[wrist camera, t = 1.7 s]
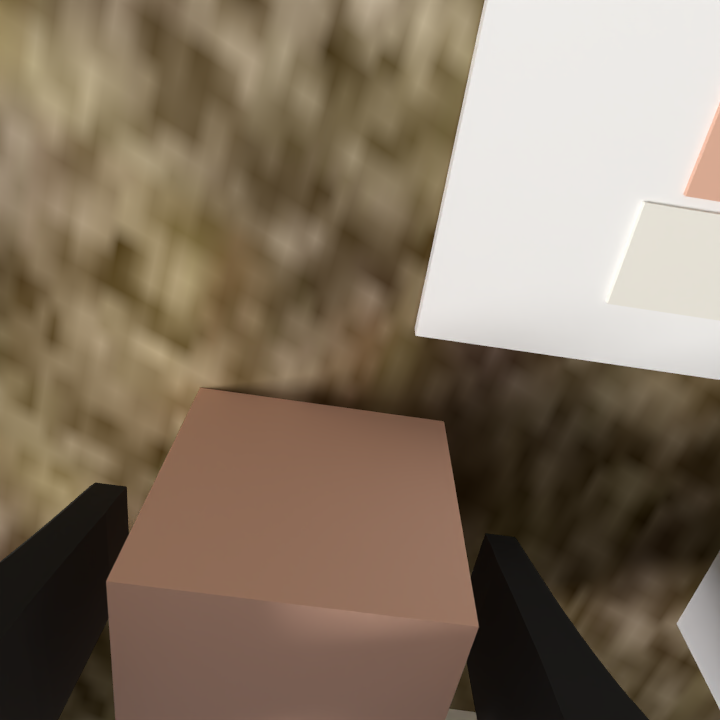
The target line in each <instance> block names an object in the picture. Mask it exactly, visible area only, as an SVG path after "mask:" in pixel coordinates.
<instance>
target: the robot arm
mask: <svg viewBox="0 0 720 720" xmlns="http://www.w3.org/2000/svg"><path fill="white" fill-rule="evenodd" d="M128 535H129V533H128V509H127V487H125V486H117V485H109V484H102V483H94V484H93V485H91V486H90V487H89V488H88V489H86V490H85V491H84V492H83V493H82V494H81V495H79V496H78V497H77V498H76V499H75V500H74V501H73V502H71V503H70V504H69V505H68V506H67V507H66V508H65V509H63V510H62V511H61V512H60V513H59V514H58V515H56V516H55V517H54V518H53V519H52V520H51V521H49V522H48V523H47V524H46V525H45V526H44V527H42V528H41V529H40V530H39V531H38V532H36V533H35V534H34V535H33V536H31V537H30V538H29V539H28V540H27V541H25V542H24V543H23V544H22V545H20V546H19V547H18V548H17V549H15V550H14V551H13V552H12V553H11V554H9V555H8V556H7V557H6V558H4V559H3V560H2V561H1V562H0V720H58V719H59V717H60V715H61V713H62V711H63V709H64V707H65V705H66V703H67V701H68V699H69V697H70V695H71V693H72V691H73V689H74V687H75V685H76V683H77V681H78V679H79V677H80V675H81V673H82V671H83V669H84V667H85V665H86V663H87V661H88V659H89V657H90V655H91V653H92V651H93V649H94V646H95V644H96V642H97V640H98V638H99V636H100V634H101V632H102V630H103V628H104V626H105V624H106V622H107V620H108V618H109V617H108V603H107V588H106V580H107V578H108V576H109V574H110V572H111V570H112V568H113V566H114V564H115V562H116V560H117V558H118V556H119V554H120V552H121V549H122V547H123V545H124V543H125V541H126V539H127V537H128ZM471 583H472V589H473V595H474V601H475V607H476V613H477V619H478V624H479V628H478V631H477V633H476V636H475V639H474V642H473V645H472V647H471V650H470V653H469V656H468V658H467V666H468V671H469V677H470V683H471V689H472V694H473V700H474V705H475V711H476V716H477V720H649V719H648V718H647V717H646V716H645V715H644V714H643V712H642V711H641V710H640V709H639V708H638V707H637V706H636V705H635V703H634V702H633V701H632V700H631V699H630V698H629V697H628V695H627V694H626V693H625V692H624V691H623V689H622V688H621V687H620V686H619V685H618V683H617V682H616V681H615V680H614V678H613V677H612V676H611V675H610V673H609V672H608V671H607V670H606V668H605V667H604V666H603V664H602V663H601V662H600V661H599V659H598V658H597V657H596V655H595V654H594V653H593V651H592V650H591V649H590V647H589V646H588V645H587V643H586V642H585V641H584V639H583V638H582V636H581V635H580V634H579V632H578V631H577V629H576V628H575V626H574V625H573V624H572V622H571V621H570V619H569V618H568V617H567V615H566V614H565V612H564V611H563V609H562V608H561V607H560V605H559V604H558V602H557V601H556V599H555V598H554V596H553V595H552V593H551V592H550V590H549V589H548V587H547V586H546V584H545V582H544V581H543V579H542V578H541V576H540V575H539V573H538V572H537V570H536V569H535V567H534V565H533V564H532V562H531V561H530V559H529V558H528V556H527V554H526V553H525V551H524V550H523V548H522V547H521V545H520V544H519V542H518V541H517V539H516V538H515V537H510V536H502V535H494V534H487V533H485V536H484V539H483V542H482V545H481V548H480V551H479V554H478V557H477V560H476V563H475V566H474V569H473V572H472V575H471Z"/></svg>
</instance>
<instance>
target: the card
mask: <svg viewBox="0 0 720 720" xmlns="http://www.w3.org/2000/svg"><path fill="white" fill-rule="evenodd" d="M415 335H416V336H421V337H428V338H435V339H442V340H449V341H456V342H463V343H470V344H477V345H483V346H490V347H497V348H504V349H511V350H518V351H525V352H532V353H538V354H545V355H552V356H559V357H566V358H573V359H580V360H587V361H594V362H600V363H607V364H614V365H621V366H628V367H635V368H642V369H649V370H656V371H662V372H669V373H676V374H683V375H690V376H697V377H704V378H711V379H717V380H720V0H485V1H484V6H483V11H482V15H481V20H480V25H479V29H478V34H477V39H476V44H475V48H474V53H473V58H472V62H471V67H470V72H469V76H468V81H467V86H466V90H465V95H464V100H463V104H462V109H461V114H460V119H459V123H458V128H457V133H456V137H455V142H454V147H453V151H452V156H451V161H450V165H449V170H448V175H447V179H446V184H445V189H444V194H443V198H442V203H441V208H440V212H439V217H438V222H437V226H436V231H435V236H434V240H433V245H432V250H431V255H430V259H429V264H428V269H427V273H426V278H425V283H424V287H423V292H422V297H421V301H420V306H419V311H418V315H417V320H416V325H415Z"/></svg>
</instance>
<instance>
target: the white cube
mask: <svg viewBox="0 0 720 720" xmlns="http://www.w3.org/2000/svg"><path fill="white" fill-rule="evenodd" d="M677 625H678V627H679V629H680V631H681V633H682V635H683V637H684V639H685V641H686V643H687V645H688V647H689V649H690V651H691V653H692V655H693V657H694V659H695V661H696V663H697V665H698V667H699V669H700V671H701V673H702V675H703V677H704V679H705V681H706V683H707V685H708V687H709V689H710V691H711V693H712V695H713V697H714V699H715V701H716V703H717V705H718V707H719V709H720V551H719V553H718V555H717V556H716V558H715V560H714V561H713V563H712V565H711V566H710V568H709V570H708V571H707V573H706V575H705V577H704V578H703V580H702V582H701V583H700V585H699V587H698V588H697V590H696V592H695V593H694V595H693V597H692V599H691V600H690V602H689V604H688V605H687V607H686V609H685V610H684V612H683V614H682V615H681V617H680V619H679V621H678V622H677Z"/></svg>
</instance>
